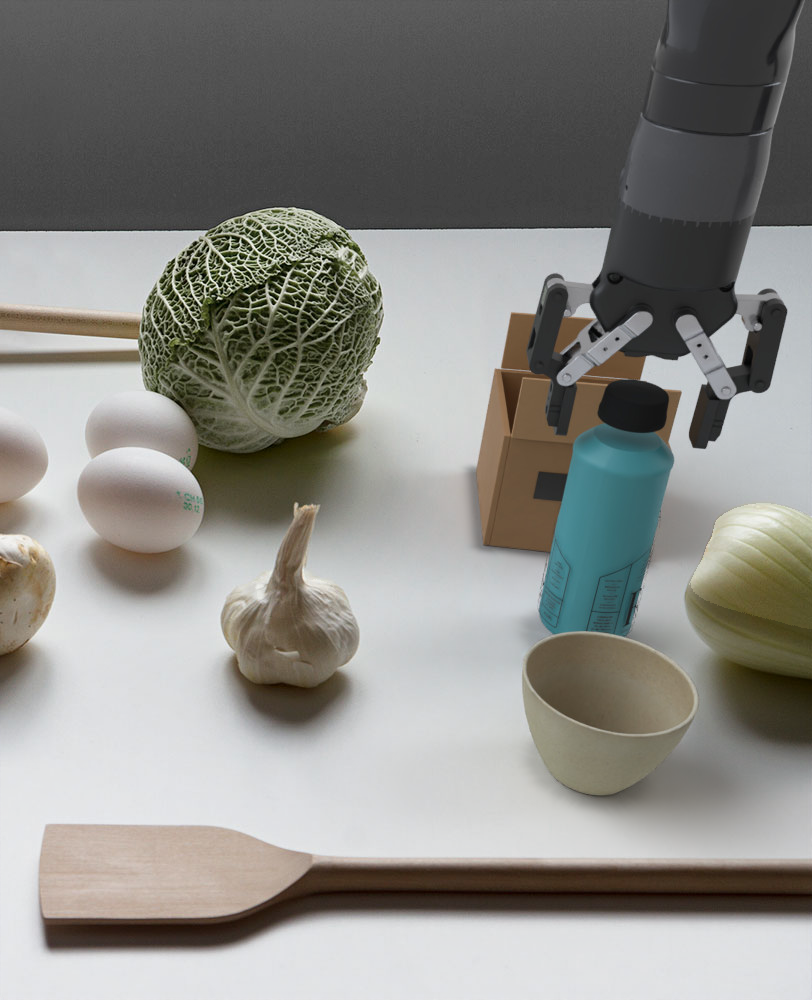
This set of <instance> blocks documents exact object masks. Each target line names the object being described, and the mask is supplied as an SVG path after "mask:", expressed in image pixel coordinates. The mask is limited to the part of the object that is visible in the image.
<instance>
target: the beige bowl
mask: <svg viewBox="0 0 812 1000" xmlns="http://www.w3.org/2000/svg"><path fill="white" fill-rule="evenodd" d="M521 671H522V673H521V689H522V700H523V701H522V702H523V707H524V713H525V718H526V722H527V725H528V729H529V732H530V734H531V735H530V736H531V737H532V740H533V743H534V746H535V748H536V750H537V753H538V754H539V756H540V758H541V760H542V762H543V764H544V765H545V767H546V769H547V770H548V772H549V773H550V774H551V775H552V777H553V778H554V779H555V780H557V781H558V782H559V783H561V784H562V785H563V786H565V787H566V788H569V789H570V790H573V791H576V792H578V793H581V794H586V795H591V796H611V795H614V794H617V793H619V792H622V791H623V790H626V789H627V788H629V787H632V786H633V785H635V784H636V783H638V782H640V781H641V780H642V779H644V778H645V777H647V776H648V775H649V774H650V773H652V772H653V771H654V770H655V769H657V767H659V765H661V764H662V763H663V762H664V761H665V760H666V759H667V758H668V757H669V756H670V755H671V753H672V752H673V751H674V750H675V748H676V747H678V745H679V743H680V742H681V741H682V740H683V738H684V736H685V735H686V733H687V732H688V730H689V728H690V726H691V725H692V723H693V721H694V719H695V717H696V715H697V712H698V710H699V706H700V696H699V692H698V689H697V687H696V684H695V682H694V680H693V679H692V678H691V677H690V675H689V674H688V673H687V671H686V670H685V669H684V668H683V667H681V665H680V664H678V663H677V662H676V661H675V660H673V659H672V658H671V657H669V656H667V655H666V654H665V653H663V652H661V651H659V650H657V648H654V647H651V646H650V645H648V644H646V643H643V642H641V641H638V640H636V639H632V638H629V637H627V636H626V637H622V636H618V635H614V634H608V633H601V632H588V631H578V632H566V633H560V634H555V635H554V634H552V635H549V636H547V637H544V638H542V639H540V640H539V641H537V642H536V643H534V644H533V645H532V646H531V647H530V648H529V649H528V651H527V652H526V653H525V655H524V657H523V662H522V670H521Z"/></svg>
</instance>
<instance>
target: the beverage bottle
mask: <svg viewBox="0 0 812 1000" xmlns="http://www.w3.org/2000/svg"><path fill="white" fill-rule="evenodd" d="M645 381H646V380H641V379H640V380H633V379H623V380H617V381H613V382H611V383H610V384H608V385H607V387H606V388H605V391H604V394H603V397H602V401H601V402H600V404H599V408H598V412H597V414H598V417H599V418H600V420H602V421H603V422H604V423H603V424H600V425H598V426H595V427H593V428H591V429H589V430H587V431H585V432H583V433H582V434H580V435H579V436H578V437H577V438H576V440H575V441H574V444H573V454H572V458H571V463H570V467H569V472H568V476H567V481H566V485H565V490H564V495H563V499H562V503H561V504H560V505H561V508H560V512H559V515H558V519H557V523H555V524H556V528H555V531H554V530H553V531H554V532H553V533H554V538H553V541H552V542H553V543H552V547H551V552H549V551H548V552H547V553H549V555H547V557H546V560H545V565H544V567H546V568H544V570H543V572H545V573H543V574H542V580H541V584H540V589H539V591H541V592H539V594H538V599H537V608H538V609H537V611H538V614H539V618H540V621H541V623H542V625H543V626H544V627H545V628H546V629H547V630H548V631H549V632H550V633H551V634H552V635H555V634H560V633H566V632H578V631H588V632H601V633H608V634H614V635H618V636H622V637H626V638H627V635H628V634H630V633H631V630H633V629H634V627H632V625H635V622H636V621H635V619H636V617H637V614H638V613H637V612H638V610H639V607H640V605H639V604H640V603H641V599H642V598H640V599H639V597H642V595H643V594H642V593H643V591H644V590H643V589H644V588H645V586H642V585H643V581H646V578H647V574H648V573H649V572H648V571H647V568H649V567H650V563H651V562H652V561H651V559H652V557H653V553H654V550H655V546H656V545H655V542H656V539H657V538H655V536H656V532H657V528H658V526H659V525H658V524H659V521H660V519H661V518H662V516H660V515H661V513H662V507H663V502H664V498H665V495H666V491H667V486H668V484H669V483H668V482H669V480H670V479H669V478H670V475H671V472H672V469H673V468H674V464H675V455H674V453H673V450H672V448H671V447H670V448H671V449H670V448H669V447H668V445H667V444H666V443H665V442H664V441H663V440H662V439H661V438H660V437H659V436H658V435H657V434H656V433H654V432H656V431H659V430H661V429H662V428H663V427H664V426H665V423H666V419H667V409H668V404H669V395H668V393H667V392H666V391H665V390H664V389H665V388H662V387H660V386H658V385H657V384H655V383H652V382H648V381H647V382H645ZM671 450H672V451H671ZM559 507H560V506H559ZM558 509H559V508H558ZM557 511H558V510H557ZM556 514H557V513H556ZM555 524H554V525H555ZM659 529H660V526H659ZM552 535H553V534H552ZM551 540H552V539H551ZM550 545H551V544H550ZM549 547H550V546H549ZM548 557H549V558H548ZM547 561H548V562H547ZM544 576H545V577H544ZM538 605H539V606H538Z"/></svg>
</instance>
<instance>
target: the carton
mask: <svg viewBox="0 0 812 1000" xmlns="http://www.w3.org/2000/svg"><path fill="white" fill-rule="evenodd" d="M535 315H536V313H528V312H516V311H511V312H510V316H509V321H508V322H509V323H508V326H507V331H506V336H505V337H506V338H505V342H504V346H503V347H504V349H503V353H502V360H501V364H500V368H494V371H493V377H492V382H491V387H490V393H489V398H488V403H487V410H486V414H485V420H484V425H483V431H482V436H481V441H480V442H481V443H480V448H479V453H478V457H477V458H478V459H477V463H476V469H475V470H476V471H475V474H476V484H477V495H478V504H479V514H480V515H479V516H480V524H481V537H482V545H484V546H491V547H498V548H509V549H516V550H517V549H518V550H526V551H527V550H528V551H536V552H545V553H546V552H547V553H550V552H551V547H552V543H553V542H552V541H553V538H554V533H553V532H554V531H555V528H556V524H555V523H557V519H558V515H559V512H560V508H561V505H560V504H561V503H562V499H563V495H564V490H565V485H566V481H567V476H568V472H569V467H570V463H571V458H572V454H573V444H574V441H575V440H576V438H577V437H578V436H579V435H580V434H582V433H583V432H585V431H587V430H589V429H591V428H593V427H595V426H598V425H600V424H603V423H604V422H603V421H602V420H600V418H599V417H598V414H597V412H598V408H599V404H600V402H601V401H602V397H603V394H604V391H605V388H606V387H607V385H608V384H610V383H611V382H613V381H617V380H623V379H632V380H640V381H641V380H642V375H643V371H644V367H645V363H646V358H647V356H644V357H627V356H625V355H624V353H623V352H620V351H617V352H616V353H614V354H613V355H612V356H611V357H610V358H608V359H607V360H606V361H605V362H604V363H602V364H601V365H599V366H594V367H593V368H591V369H590V370H589V371H588V372H587V373H585V374H584V375H583V376H582V377H581V378H580V379H578V380H577V381H576V385H577V392H576V396H575V401H574V405H573V410H572V414H571V419H570V424H569V428H568V433H567V435H566V436H561V435H555V434H554V429H553V426H548V423H547V418H546V414H545V405H546V400H547V396H548V391H549V386H550V381H551V378H549V377H548V376H546V375H543V374H540V375H537V374H534V373H532V372H531V371H530V368H529V363H528V358H527V353H526V349H527V345H528V342H529V338H530V334H531V330H532V326H533V323H534V319H535ZM595 318H596V317H584V316H583V317H582V316H570V317H567V318H562V322H561V326H560V329H559V333H558V337H557V340H556V344H555V347H554V351H555V352H557V353H560V352H562V351H563V350H564V349H565V348H566V347H567V346H569V345H570V344H571V343H572V342H573V341H574V340H575V339H576V338H577V336H578V334H579V333H580V332H581V331H582V330H583V329H584V328H585V327H586V326H587V325H588V324H590V323H591V322H592V321H593V320H594V319H595ZM599 329H600V328H599ZM644 381H645V382H648V381H647V380H644ZM663 389H664V390H665V391H666V392H667V393H668V395H669V404H668V409H667V419H666V423H665V426H664V427H663V428H662V429H661V430H659V431H656V432H654V433H656V434H657V435H658V436H659V437H660V438H661V439H662V440H663V441H664V442H665V443H666V444H667V445H668V447H669V448H670V449H671V451H672V452H673V450H672V448H671V445H670V443H669V442H670V437H671V433H672V430H673V427H674V422H675V419H676V415H677V412H678V408H679V404H680V401H681V396H682V390H678V389H668V388H667V389H666V388H663ZM559 506H560V507H559ZM558 508H559V509H558ZM557 510H558V511H557ZM556 513H557V514H556ZM554 524H555V525H554ZM553 530H554V531H553ZM552 534H553V535H552ZM551 539H552V540H551ZM550 544H551V545H550ZM549 546H550V547H549ZM548 551H549V552H548Z"/></svg>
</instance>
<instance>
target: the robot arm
mask: <svg viewBox="0 0 812 1000" xmlns="http://www.w3.org/2000/svg"><path fill="white" fill-rule="evenodd" d="M805 1H806V0H667V3H666V5H667V6H666V15H665V16H666V17H665V20H664V24H663V26H662V28H661V31H660V35H659V37H658V41H657V44H656V47H655V51H654V55H653V58H652V62H651V66H650V71H649V76H648V80H647V85H646V88H645V93H644V98H643V102H642V107H641V112H640V115H639V118H638V123H637V125H636V128H635V131H634V134H633V135H632V138H631V141H630V145H629V146H628V150H627V154H626V158H625V162H624V167H623V168H622V169H621V172H620V176H619V180H618V184H619V190H618V193H617V199H616V204H615V207H614V212H613V217H612V221H611V226H610V229H609V235H608V240H607V245H606V249H605V253H604V258H603V262H602V266H601V270H600V272H599V274H598V275H597V277H595V280H594V281H593V282H591V283H584V282H576V281H569V280H565V278H564V276H563V275H562V274H560V273H557V272H556V273H555V272H554V273H550V274H549V275H547V276H546V277H545V279H544V281H543V285H542V289H541V293H540V297H539V300H538V304H537V307H536V311H535V314H536V315H535V319H534V323H533V326H532V330H531V334H530V338H529V342H528V345H527V349H526V353H527V358H528V363H529V368H530V371H531V372H532V373H534V374H537V375H540V374H543V375H546V376H548V377H549V378H551V381H550V386H549V391H548V396H547V400H546V405H545V414H546V418H547V423H548V426H553V429H554V434H555V435H561V436H566V435H567V433H568V428H569V424H570V419H571V414H572V410H573V405H574V401H575V396H576V392H577V385H576V381H577V380H578V379H580V378H581V377H582V376H585V375H584V374H585V373H587V372H588V371H589V370H590V369H591V368H593V367H594V366H599V365H601V364H602V363H604V362H605V361H606V360H607V359H608V358H610V357H611V356H612V355H613V354H614V353H616V352H617V351H620V352H623V353H624V355H625V356H627V357H644V356H646V357H649V356H652V357H655V358H659V359H662V360H665V361H666V360H667V361H676V362H677V361H679V358H682V357H685V356H687V355H690V354H691V355H692V357H693V359H694V360H695V362H696V363H697V366H698V367H699V369H700V371H701V372H702V374H703V376H704V377H705V379H706V380H707V383H706V384H705V383H704V384H703V383H702V384H701V385H700V389H699V393H698V396H697V400H696V403H695V407H694V411H693V414H692V418H691V421H690V425H689V429H688V440H689V442H690V444H691V447H692V448H693V449H699V450H706V449H707V447H708V444H709V442H714V443H715V442H716V441H717V440H718V439H719V437H720V436H721V434H722V430H723V427H724V424H725V421H726V417H727V413H728V410H729V406H730V404H731V401H732V399H733V398H734V397H735V396H737V395H739V394H742V393H747V392H752V393H753V394H761V393H762V394H763V393H765V392H767V391H768V390H769V389H770V387H771V384H772V380H773V376H774V371H775V367H776V362H777V358H778V355H779V351H780V347H781V341H782V337H783V333H784V328H785V324H786V321H787V316H788V308H787V306H786V305H785V303H784V301H783V299H782V298H781V296H780V295H779V294H778V292H777V291H776V290H775V289H773V288H764V289H762V290H760V291H759V292H758V293H756V294H748V293H747V294H746V293H745V294H744V293H743V294H742V293H736V291H735V288H736V287H735V286H736V281H737V280H738V276H739V272H740V268H741V265H742V261H743V258H744V255H745V250H746V247H747V243H748V241H749V236H750V234H751V230H752V227H753V222H754V219H755V216H756V212H757V207H758V204H759V201H760V198H761V193H762V189H763V187H764V182H765V179H766V175H767V171H768V167H769V161H770V157H771V146H772V138H773V132H774V128H775V125H776V121H777V118H778V115H779V110H780V106H781V104H782V100H783V96H784V93H785V90H786V89H785V88H786V85H787V81H788V77H789V73H790V69H791V65H792V60H793V55H794V48H795V42H796V41H795V40H796V28H797V24H798V20H799V18H800V16H801V13H802V10H803V8H804V5H805ZM584 304H589V307H590V309H591V311H592V313H593V315H594V318H595V319H594V320H593V321H592V322H591V323H590V324H588V325H587V326H586V327H585V328H584V329H583V330H582V331H581V332H580V333H579V334H578V336H577V338H576V339H575V340H574V341H573V342H572V343H571V344H570V345H569V346H567V347H566V348H565V349H564V350H563V351H562V352H560V353H557V352H555V351H554V347H555V344H556V340H557V337H558V333H559V329H560V326H561V322H562V318H567V317H573V316H574V314H575V313H576V311H577V309H578V308H579V307H580V306H582V305H584ZM735 315H739V316H741V318H740V319H741V323H742V324H743V325H744V328H745V329H746V330H747V331H748V333H747V338H746V342H745V347H744V350H743V356H742V360H741V364H739V365H735V366H730V367H727V366H726V364H725V362H724V361H723V359H722V357H721V355H720V353H719V352H718V350H717V348H716V347H715V345H714V343H713V341H712V339H711V337H712V336H713V335H714V334H716V333H717V332H718V331H719V330H721V328H722V327H724V326H725V325H726V324H727V323H728V322H730V321H731V320H732V319H733V318H734V317H735ZM599 328H600V329H599Z"/></svg>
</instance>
